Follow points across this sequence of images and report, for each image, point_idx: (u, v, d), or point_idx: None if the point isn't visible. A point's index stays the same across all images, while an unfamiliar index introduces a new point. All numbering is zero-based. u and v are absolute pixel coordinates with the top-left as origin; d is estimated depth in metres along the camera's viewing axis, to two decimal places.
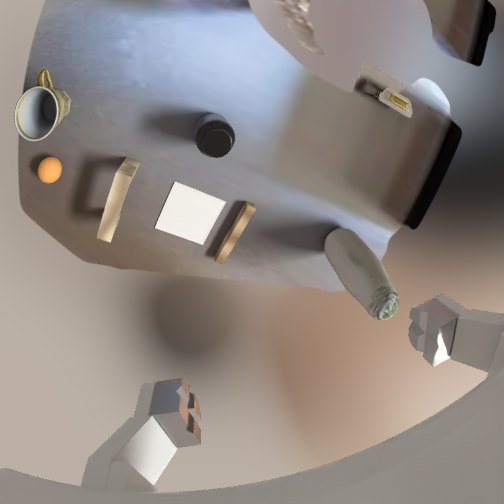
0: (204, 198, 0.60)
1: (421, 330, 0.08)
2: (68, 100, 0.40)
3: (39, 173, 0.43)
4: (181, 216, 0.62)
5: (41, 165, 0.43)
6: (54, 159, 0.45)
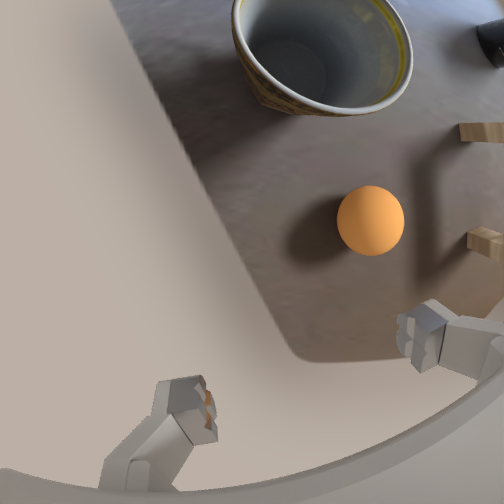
0: None
1: (409, 336, 0.08)
2: None
3: (369, 236, 0.19)
4: None
5: (363, 213, 0.19)
6: (374, 186, 0.20)
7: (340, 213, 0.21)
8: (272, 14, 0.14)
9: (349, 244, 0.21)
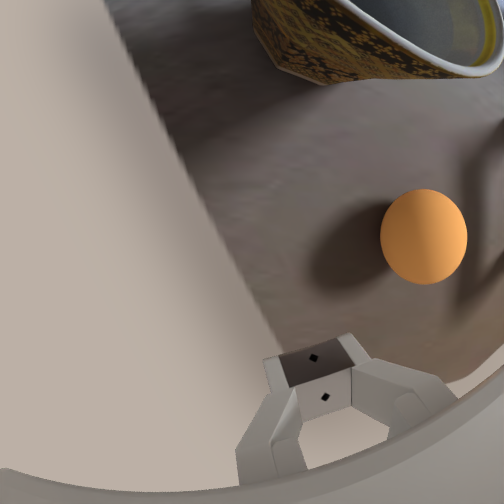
0: None
1: None
2: None
3: (430, 262, 0.12)
4: None
5: (424, 229, 0.12)
6: (431, 190, 0.13)
7: (388, 227, 0.14)
8: None
9: (398, 270, 0.14)
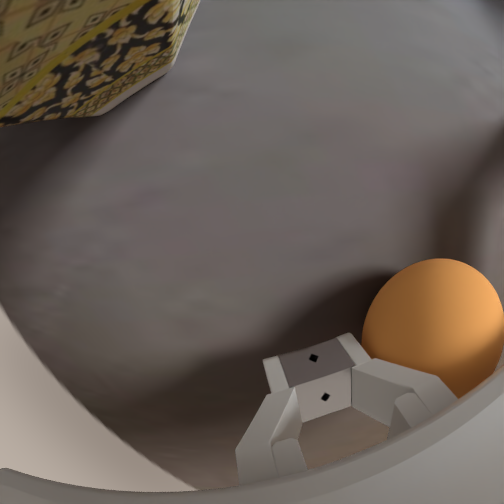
0: None
1: None
2: None
3: None
4: None
5: (503, 320, 0.06)
6: (441, 262, 0.08)
7: (473, 364, 0.05)
8: None
9: None
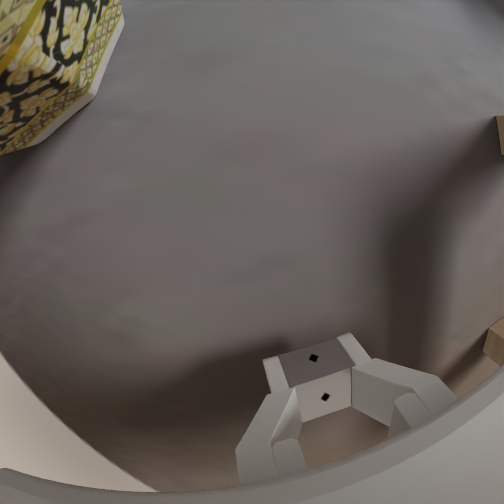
0: None
1: None
2: None
3: None
4: None
5: None
6: None
7: None
8: None
9: None
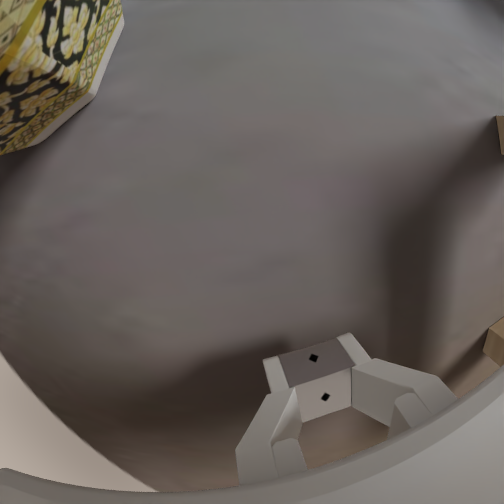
0: None
1: None
2: None
3: None
4: None
5: None
6: None
7: None
8: None
9: None
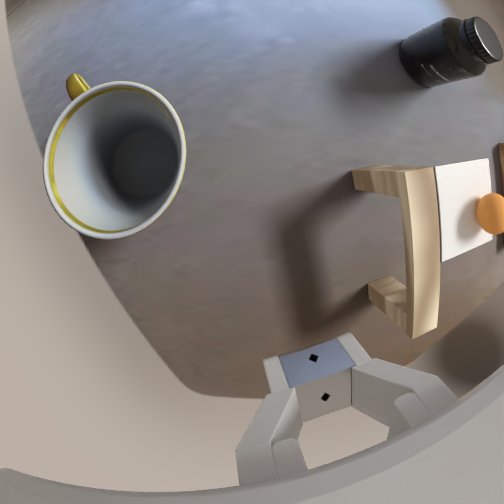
0: (471, 169, 0.28)
1: None
2: None
3: (503, 222, 0.25)
4: (462, 217, 0.29)
5: (500, 210, 0.25)
6: (495, 193, 0.26)
7: (485, 210, 0.26)
8: (107, 124, 0.19)
9: (490, 228, 0.26)
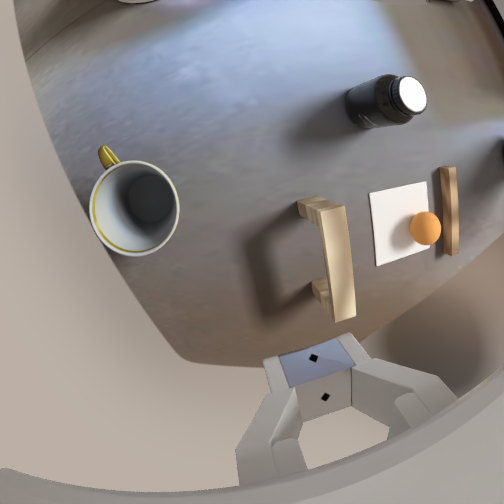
0: (407, 192, 0.41)
1: None
2: None
3: (430, 236, 0.38)
4: (396, 231, 0.42)
5: (428, 226, 0.38)
6: (427, 212, 0.39)
7: (415, 226, 0.39)
8: (125, 177, 0.31)
9: (419, 241, 0.40)
